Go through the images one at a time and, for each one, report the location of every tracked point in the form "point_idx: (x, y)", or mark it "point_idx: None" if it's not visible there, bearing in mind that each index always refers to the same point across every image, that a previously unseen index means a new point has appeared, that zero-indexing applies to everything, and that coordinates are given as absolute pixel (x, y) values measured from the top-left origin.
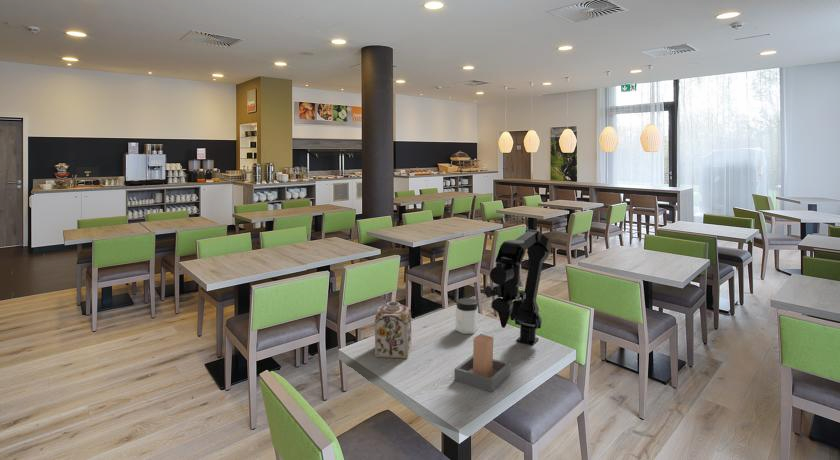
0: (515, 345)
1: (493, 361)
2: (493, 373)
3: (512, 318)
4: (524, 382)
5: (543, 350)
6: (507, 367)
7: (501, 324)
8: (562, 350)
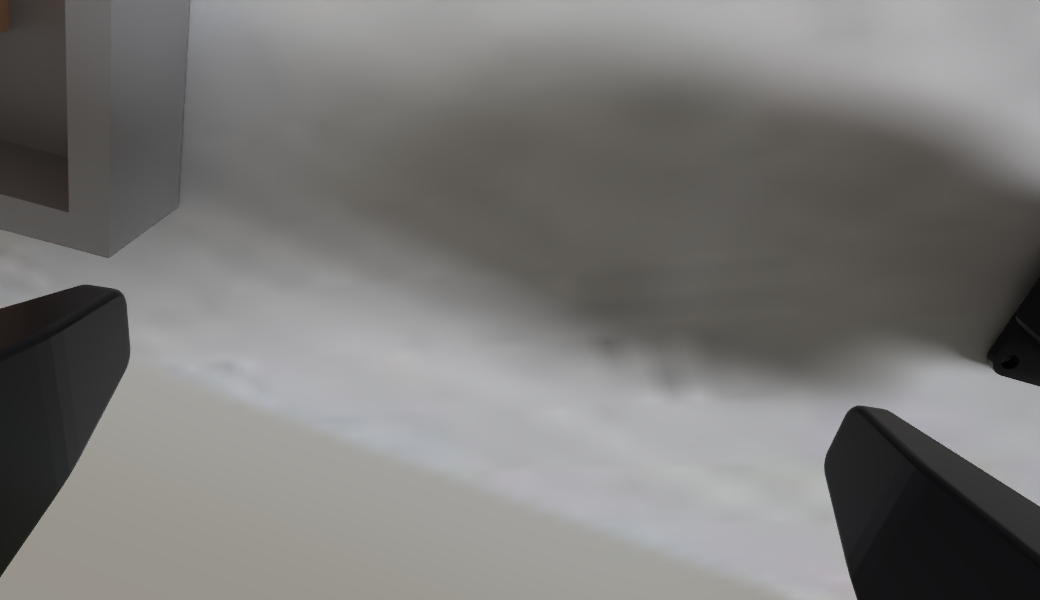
0: (971, 177)
1: (73, 31)
2: (35, 40)
3: (853, 473)
4: None
5: None
6: (31, 230)
7: (1, 323)
8: None
